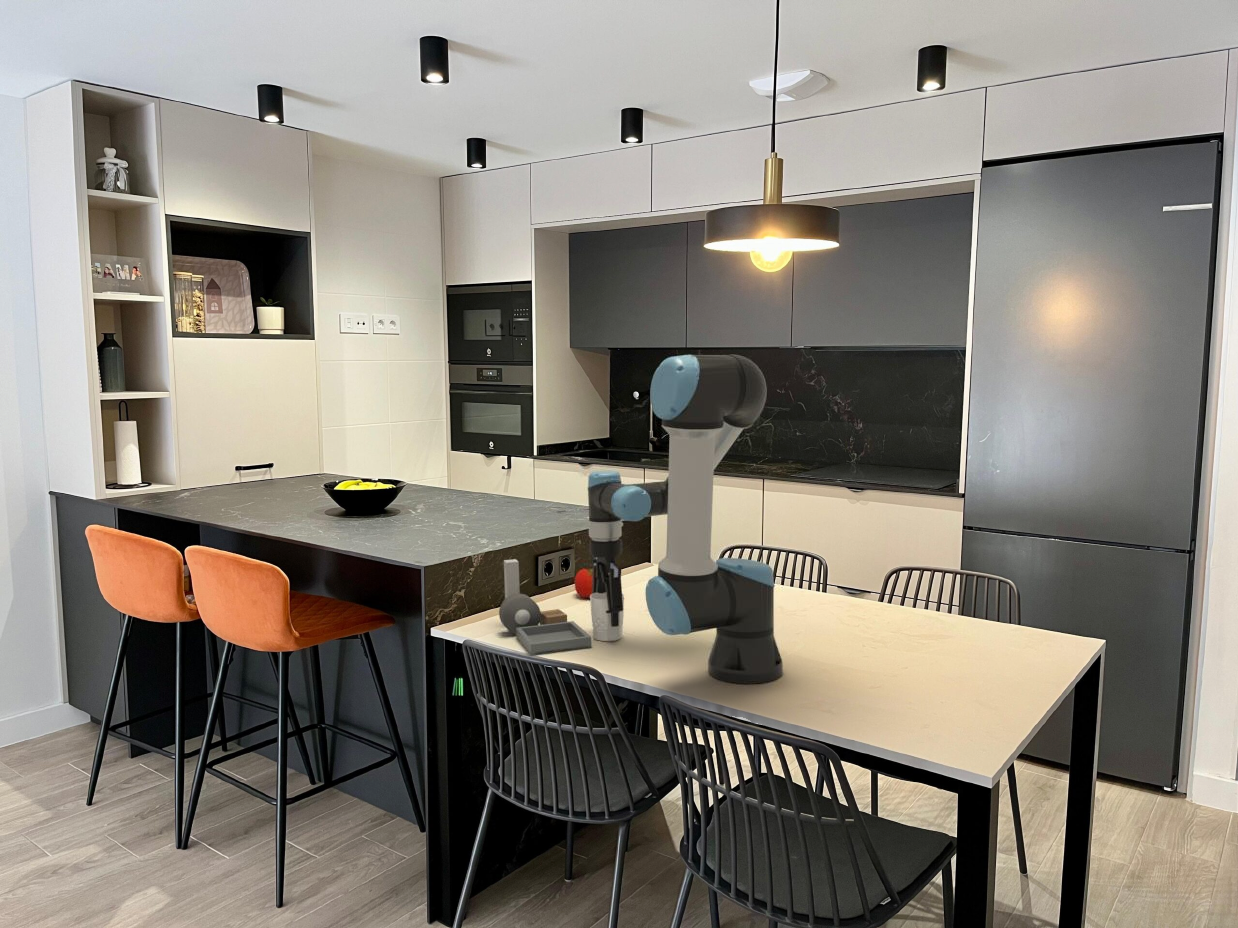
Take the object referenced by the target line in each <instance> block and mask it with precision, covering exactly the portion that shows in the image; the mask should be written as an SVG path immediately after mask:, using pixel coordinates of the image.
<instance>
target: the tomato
mask: <svg viewBox="0 0 1238 928" xmlns="http://www.w3.org/2000/svg"><path fill="white" fill-rule="evenodd" d="M592 582H593V567H592V568H589V569H586V568H582V569H580V570H578V572H576V575H575V576H574V589H575V592H576V594H577V595H578V596H581V597H583V598H585V599H590V595H591V594H592Z"/></svg>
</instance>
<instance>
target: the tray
mask: <svg viewBox="0 0 1238 928" xmlns="http://www.w3.org/2000/svg"><path fill="white" fill-rule="evenodd" d="M515 639H516V640H517V641H518V642H519V643H520V645H521V646H522V647H523V648H524V649H525V650H526V652H527V654H528V653H529V655H530V654H531V655H532V656H539V655H545V654H553V653H554V654H555V653H562V652H568V651H569V652H570V651H575V650H576V651H577V650H586V649H591V648H593V646H592V636H591V635H590V634H589V633H587V632H586V631H585V629H583V628H582V627H580V626H579V625H578V623H576V622H575V621H574V620H571V621H567V622H561V623H553V624H544V625H540V624H539V625H536V626H528V627H519V628H516V635H515ZM531 655H530V656H531Z"/></svg>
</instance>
